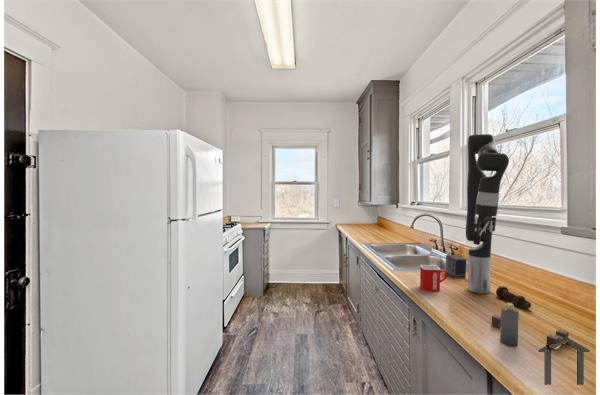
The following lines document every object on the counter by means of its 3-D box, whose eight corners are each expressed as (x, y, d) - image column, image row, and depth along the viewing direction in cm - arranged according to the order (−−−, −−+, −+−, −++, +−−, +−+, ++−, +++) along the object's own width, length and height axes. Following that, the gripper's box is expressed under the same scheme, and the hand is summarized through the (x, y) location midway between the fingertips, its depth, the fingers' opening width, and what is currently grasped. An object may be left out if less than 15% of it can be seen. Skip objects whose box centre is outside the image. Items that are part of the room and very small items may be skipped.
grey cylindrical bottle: (504, 337, 105) (506, 300, 105) (520, 344, 101) (521, 305, 100) (497, 341, 103) (498, 303, 102) (512, 348, 99) (514, 308, 98)
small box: (466, 278, 170) (467, 259, 170) (455, 278, 170) (455, 259, 169) (455, 272, 181) (456, 254, 180) (444, 272, 180) (445, 254, 180)
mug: (423, 291, 150) (424, 269, 150) (418, 285, 158) (419, 264, 158) (449, 291, 149) (449, 270, 148) (443, 286, 157) (443, 265, 157)
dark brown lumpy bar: (526, 314, 128) (499, 299, 143) (536, 308, 128) (508, 294, 143) (520, 303, 127) (493, 289, 142) (530, 296, 127) (503, 283, 142)
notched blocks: (504, 319, 119) (504, 310, 119) (568, 342, 102) (568, 332, 102) (491, 325, 114) (491, 316, 114) (555, 350, 97) (556, 339, 97)
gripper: (485, 201, 131) (481, 238, 133) (468, 202, 123) (463, 242, 125) (505, 204, 125) (500, 243, 127) (488, 206, 117) (482, 247, 119)
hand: (481, 243), depth 126 cm, fingers open, 8 cm apart
